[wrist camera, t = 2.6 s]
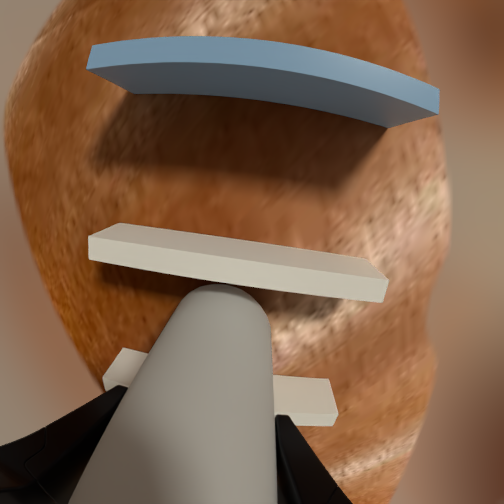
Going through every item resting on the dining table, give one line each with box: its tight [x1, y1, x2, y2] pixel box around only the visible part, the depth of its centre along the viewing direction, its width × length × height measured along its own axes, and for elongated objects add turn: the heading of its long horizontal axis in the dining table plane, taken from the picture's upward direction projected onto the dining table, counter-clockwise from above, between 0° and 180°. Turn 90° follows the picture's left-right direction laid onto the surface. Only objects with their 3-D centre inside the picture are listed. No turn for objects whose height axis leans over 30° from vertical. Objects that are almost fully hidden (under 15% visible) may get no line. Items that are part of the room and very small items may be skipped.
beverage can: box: [68, 284, 277, 504], centre depth 8 cm, size 5×5×12 cm
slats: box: [86, 36, 439, 426], centre depth 12 cm, size 16×12×4 cm
